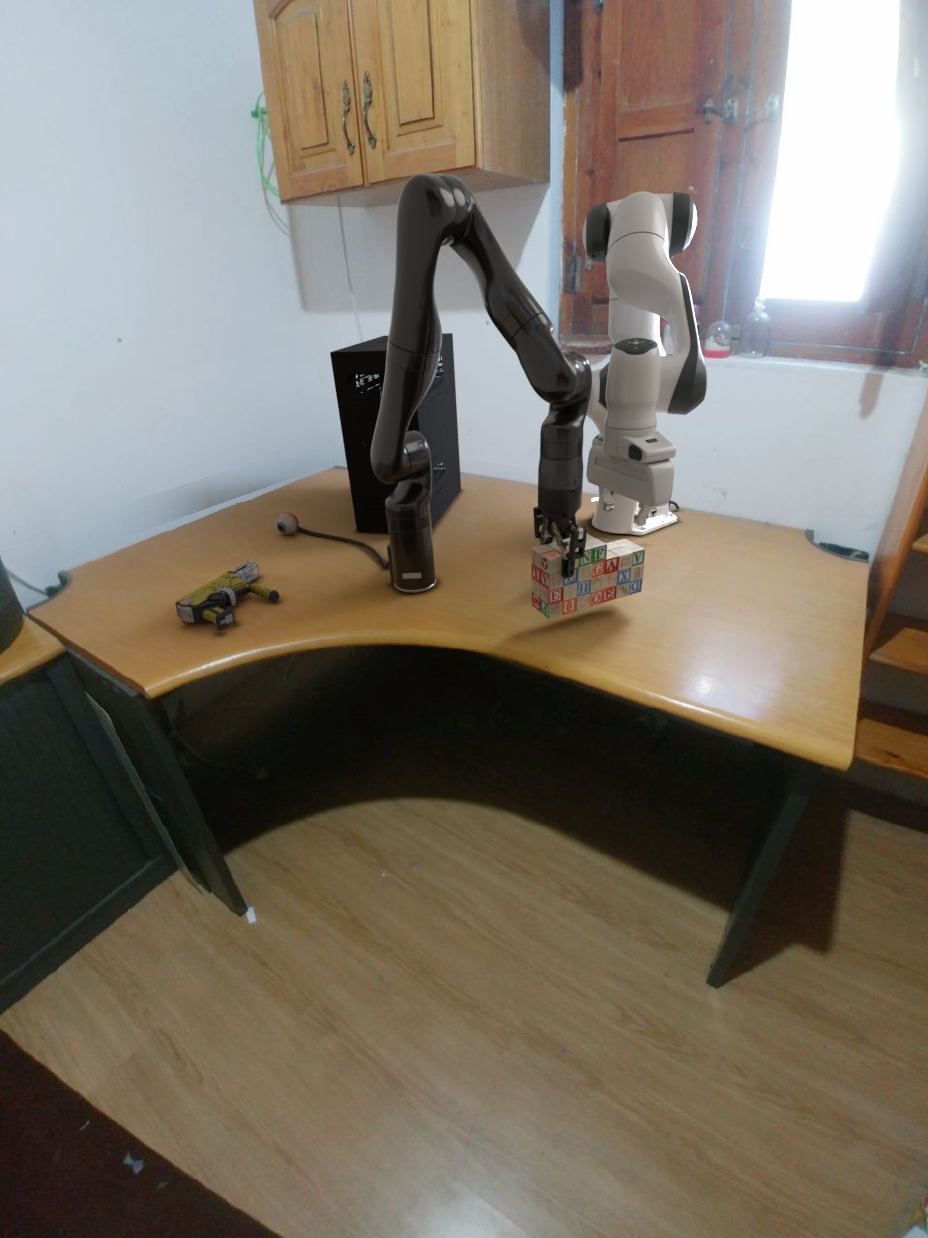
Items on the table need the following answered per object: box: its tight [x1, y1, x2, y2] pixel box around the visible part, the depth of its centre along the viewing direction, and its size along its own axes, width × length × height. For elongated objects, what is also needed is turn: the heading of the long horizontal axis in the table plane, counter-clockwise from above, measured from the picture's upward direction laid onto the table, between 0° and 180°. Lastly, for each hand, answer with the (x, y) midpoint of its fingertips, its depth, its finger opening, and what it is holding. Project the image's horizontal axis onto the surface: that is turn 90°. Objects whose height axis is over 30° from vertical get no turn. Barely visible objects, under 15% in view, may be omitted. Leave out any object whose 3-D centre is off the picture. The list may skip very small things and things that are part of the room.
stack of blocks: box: [531, 533, 646, 620], centre depth 114 cm, size 21×6×12 cm, turn 115°
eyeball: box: [275, 511, 300, 536], centre depth 163 cm, size 6×6×6 cm
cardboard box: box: [329, 332, 462, 534], centre depth 166 cm, size 38×20×45 cm, turn 167°
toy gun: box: [174, 560, 280, 631], centre depth 130 cm, size 5×24×15 cm
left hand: (557, 569), depth 111 cm, fingers closed on stack of blocks, 6 cm apart
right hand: (623, 517), depth 112 cm, fingers open, 8 cm apart
